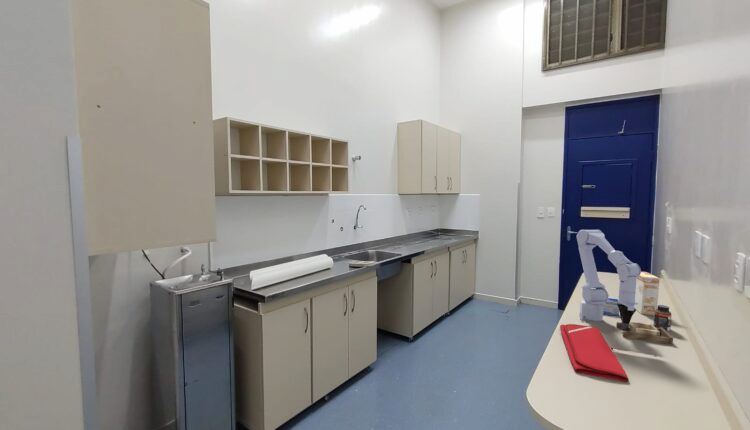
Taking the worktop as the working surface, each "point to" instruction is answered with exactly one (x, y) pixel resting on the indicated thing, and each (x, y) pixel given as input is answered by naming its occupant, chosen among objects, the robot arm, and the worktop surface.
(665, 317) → the supplement bottle
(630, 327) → the drawer
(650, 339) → the bay
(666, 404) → the worktop surface
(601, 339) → the dish drying mat
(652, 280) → the coffeecake box
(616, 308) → the medicine box
